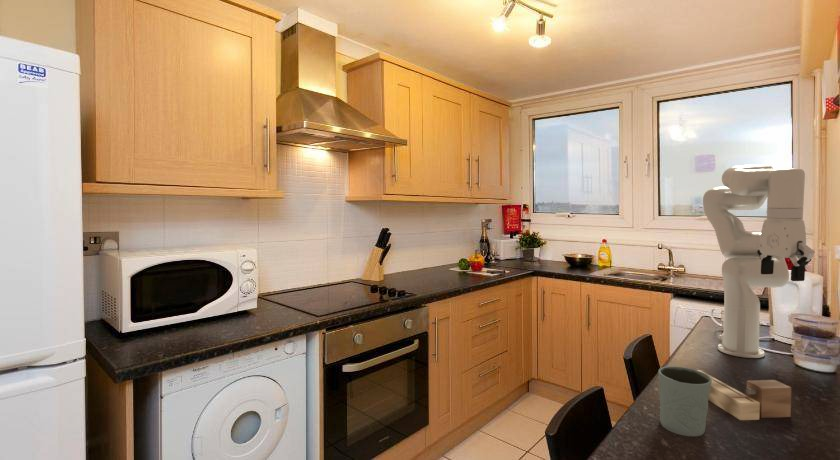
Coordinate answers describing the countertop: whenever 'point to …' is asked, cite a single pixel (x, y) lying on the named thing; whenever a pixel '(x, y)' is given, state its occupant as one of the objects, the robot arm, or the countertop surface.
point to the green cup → (683, 400)
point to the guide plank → (733, 400)
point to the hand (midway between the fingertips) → (781, 277)
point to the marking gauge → (770, 397)
